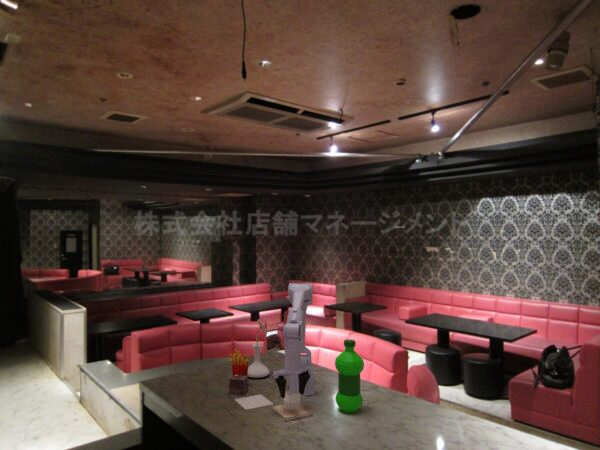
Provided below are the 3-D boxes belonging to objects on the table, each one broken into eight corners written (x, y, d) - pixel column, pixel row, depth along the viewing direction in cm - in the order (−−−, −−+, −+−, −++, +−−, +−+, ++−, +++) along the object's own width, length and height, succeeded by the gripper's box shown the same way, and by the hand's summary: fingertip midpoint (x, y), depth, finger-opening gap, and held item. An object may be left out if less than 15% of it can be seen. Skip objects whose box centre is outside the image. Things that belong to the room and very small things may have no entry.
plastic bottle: (346, 402, 161) (347, 336, 162) (368, 410, 154) (369, 341, 155) (329, 409, 154) (329, 340, 155) (351, 418, 147) (352, 345, 148)
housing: (294, 406, 153) (294, 389, 153) (300, 410, 149) (300, 393, 149) (283, 408, 151) (283, 391, 151) (289, 412, 147) (289, 395, 147)
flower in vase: (268, 380, 186) (269, 323, 187) (242, 379, 186) (243, 322, 187) (270, 371, 199) (271, 317, 200) (246, 370, 199) (247, 317, 200)
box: (243, 399, 163) (243, 380, 163) (228, 398, 164) (229, 378, 164) (248, 394, 169) (249, 375, 169) (234, 392, 170) (234, 374, 170)
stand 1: (260, 398, 164) (260, 394, 164) (273, 408, 155) (273, 404, 155) (234, 403, 159) (234, 399, 159) (245, 413, 149) (245, 409, 149)
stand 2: (297, 405, 157) (297, 401, 157) (313, 416, 148) (313, 411, 148) (271, 411, 152) (271, 406, 152) (285, 422, 142) (285, 418, 142)
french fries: (248, 384, 180) (249, 348, 181) (247, 391, 172) (247, 353, 172) (228, 384, 180) (229, 348, 180) (225, 391, 171) (226, 353, 172)
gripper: (279, 362, 144) (279, 402, 143) (315, 357, 151) (315, 395, 150) (270, 357, 150) (270, 396, 149) (305, 352, 157) (305, 389, 156)
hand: (292, 395), depth 150 cm, fingers open, 7 cm apart
